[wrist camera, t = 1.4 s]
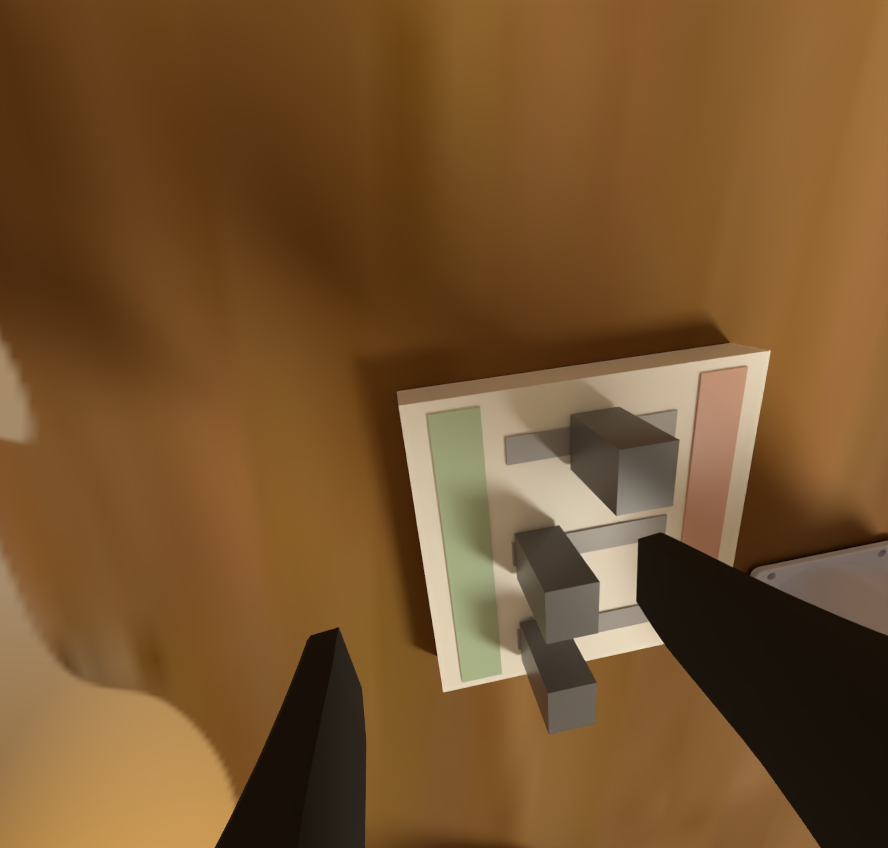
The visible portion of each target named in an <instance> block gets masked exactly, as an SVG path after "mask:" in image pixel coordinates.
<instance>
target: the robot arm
mask: <svg viewBox="0 0 888 848" xmlns="http://www.w3.org/2000/svg"><path fill="white" fill-rule="evenodd" d="M636 602H637V604H638V605H639V607H640V608H641V610H642V611H643V613H644V615H645V616H646V618H647V619H648V621H649V622H650V624H651V625H652V627H653V628H654V630H655V631H656V633H657V634H658V636H659V637H660V639H661V640H662V642H663V643H664V644H665V646H666V647H667V648H668V649H669V651H670V652H671V653H672V654H673V656H674V657H675V658H676V659H677V660H678V662H679V663H680V664H681V665H682V667H683V668H684V669H685V670H686V671H687V673H688V674H689V675H690V676H691V678H692V679H693V680H694V681H695V682H696V684H697V685H698V686H699V687H700V688H701V690H702V691H703V692H704V693H705V694H706V696H707V697H708V698H709V699H710V700H711V702H712V703H713V704H714V705H715V706H716V708H717V709H718V710H719V711H720V712H721V714H722V715H723V716H724V717H725V719H726V720H727V721H728V722H729V723H730V725H731V726H732V727H733V728H734V729H735V731H736V732H737V733H738V734H739V735H740V737H741V738H742V739H743V740H744V742H745V743H746V744H747V745H748V747H749V748H750V749H751V751H752V752H753V753H754V754H755V756H756V757H757V758H758V760H759V761H760V762H761V763H762V765H763V766H764V767H765V769H766V770H767V772H768V773H769V774H770V776H771V777H772V779H773V780H774V781H775V783H776V784H777V786H778V787H779V789H780V790H781V791H782V793H783V794H784V796H785V797H786V798H787V800H788V801H789V803H790V804H791V805H792V807H793V808H794V810H795V811H796V812H797V814H798V815H799V817H800V818H801V819H802V821H803V822H804V824H805V825H806V827H807V828H808V830H809V831H810V833H811V834H812V836H813V837H814V838H815V840H816V841H817V843H818V844H819V846H820V847H821V848H888V541H883V542H878V543H873V544H868V545H864V546H859V547H854V548H849V549H844V550H839V551H834V552H829V553H824V554H819V555H815V556H810V557H805V558H800V559H795V560H790V561H785V562H780V563H775V564H771V565H766V566H761V567H757V568H755V569H754V570H753V571H752V572H751V574H750V575H748V574H746V573H744V572H742V571H740V570H738V569H735V568H733V567H731V566H729V565H727V564H725V563H723V562H721V561H719V560H717V559H715V558H713V557H711V556H709V555H707V554H705V553H703V552H701V551H699V550H697V549H695V548H693V547H691V546H689V545H687V544H685V543H683V542H681V541H679V540H677V539H675V538H673V537H671V536H668V535H666V534H664V533H662V532H659V533H656V534H653V535H649V536H646V537H642V538H639V539H638V556H637V587H636ZM365 800H366V733H365V719H364V707H363V696H362V687H361V685H360V682H359V679H358V677H357V674H356V672H355V669H354V666H353V664H352V661H351V658H350V656H349V653H348V650H347V648H346V645H345V643H344V640H343V637H342V635H341V632H340V629H339V627H338V628H335V629H331V630H328V631H325V632H321V633H318V634H314V635H311V636H310V637H309V639H308V640H307V642H306V645H305V648H304V650H303V653H302V656H301V659H300V661H299V664H298V666H297V669H296V672H295V674H294V677H293V679H292V682H291V684H290V687H289V689H288V692H287V694H286V697H285V699H284V702H283V704H282V706H281V709H280V711H279V713H278V716H277V718H276V720H275V723H274V725H273V727H272V729H271V732H270V734H269V736H268V739H267V741H266V743H265V745H264V748H263V750H262V752H261V754H260V757H259V759H258V761H257V763H256V765H255V767H254V770H253V772H252V774H251V776H250V778H249V780H248V782H247V784H246V786H245V788H244V790H243V792H242V794H241V796H240V798H239V801H238V803H237V805H236V807H235V809H234V811H233V813H232V815H231V817H230V819H229V821H228V823H227V825H226V827H225V829H224V831H223V833H222V835H221V837H220V839H219V841H218V843H217V844H216V846H215V848H365Z"/></svg>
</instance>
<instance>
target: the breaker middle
mask: <svg viewBox="0 0 888 848" xmlns="http://www.w3.org/2000/svg"><path fill="white" fill-rule="evenodd" d="M514 537H515V554H516V571H517V580H518V582H519V584H520V586H521V589H522V591H523V593H524V595H525V598H526V600H527V602H528V604H529V606H530V609H531V611H532V613H533V615H534V618H535V620H536V622H537V624H538V626H539V629H540V631H541V633H542V635H543V638H544V640H545V642H546V644H550V643H554V642H559V641H564V640H568V639H573V638H578V637H582V636H587V635H592V634H597V633H598V625H599V594H600V581H599V580H598V578H597V577H596V576H595V574H594V573H593V571H592V570H591V569H590V567H589V566H588V564H587V563H586V562H585V560H584V559H583V557H582V556H581V555H580V553H579V552H578V550H577V549H576V548H575V546H574V545H573V543H572V542H571V541H570V539H569V538H568V537H567V535H566V534H565V532H564V531H563V530H562V528H561V527H560V525H557V526H552V527H546V528H541V529H536V530H530V531H525V532H519V533H514Z"/></svg>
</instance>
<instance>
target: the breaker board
mask: <svg viewBox="0 0 888 848" xmlns="http://www.w3.org/2000/svg"><path fill="white" fill-rule="evenodd" d="M770 351H771V350H766V349H760V348H755V347H750V346H745V345H740V344H735V343H726V344H719V345H712V346H706V347H699V348H692V349H685V350H678V351H671V352H664V353H657V354H650V355H644V356H637V357H630V358H623V359H616V360H609V361H602V362H595V363H588V364H582V365H575V366H568V367H561V368H554V369H547V370H540V371H533V372H526V373H519V374H513V375H506V376H499V377H492V378H485V379H478V380H471V381H464V382H457V383H451V384H444V385H437V386H430V387H423V388H416V389H409V390H402V391H397V399H398V406H399V412H400V419H401V425H402V431H403V438H404V444H405V451H406V457H407V463H408V470H409V476H410V482H411V489H412V495H413V502H414V508H415V514H416V521H417V527H418V534H419V540H420V546H421V553H422V559H423V565H424V572H425V578H426V585H427V591H428V597H429V604H430V610H431V617H432V623H433V629H434V636H435V642H436V648H437V655H438V661H439V668H440V674H441V680H442V687H443V692H447V691H451V690H456V689H460V688H465V687H470V686H474V685H479V684H483V683H488V682H492V681H497V680H501V679H506V678H511V677H515V676H520V675H524V674H527V673H526V671H525V668H524V665H523V662H522V658H521V641H520V622H525V621H530V620H535V618H534V615H533V613H532V611H531V609H530V606H529V604H528V602H527V600H526V598H525V595H524V593H523V591H522V589H521V586H520V584H519V582H518V580H517V571H516V554H515V537H514V533H519V532H525V531H530V530H536V529H541V528H546V527H552V526H557V525H560V527H561V528H562V530H563V531H564V532H565V534H566V535H567V537H568V538H569V539H570V541H571V542H572V543H573V545H574V546H575V548H576V549H577V550H578V552H579V553H580V555H581V556H582V557H583V559H584V560H585V562H586V563H587V564H588V566H589V567H590V569H591V570H592V571H593V573H594V574H595V576H596V577H597V578H598V580H599V581H600V594H599V625H598V633H597V634H592V635H587V636H582V637H578V638H573V639H574V641H575V643H576V645H577V647H578V648H579V650H580V652H581V654H582V656H583V658H584V660H585V661H588V660H593V659H597V658H602V657H607V656H611V655H616V654H620V653H625V652H629V651H634V650H639V649H643V648H648V647H652V646H657V645H661V644H664V643H663V642H662V640H661V639H660V637H659V636H658V634H657V633H656V631H655V630H654V628H653V627H652V625H651V624H650V622H649V621H648V619H647V618H646V616H645V615H644V613H643V611H642V610H641V608H640V607H639V605H638V604H637V602H636V587H637V556H638V539H639V538H642V537H646V536H649V535H653V534H656V533H659V532H662V533H664V534H666V535H668V536H671V537H673V538H675V539H677V540H679V541H681V542H683V543H685V544H687V545H689V546H691V547H693V548H695V549H697V550H699V551H701V552H703V553H705V554H707V555H709V556H711V557H713V558H715V559H717V560H719V561H721V562H723V563H725V564H727V565H729V566H731V567H733V564H734V558H735V552H736V547H737V541H738V535H739V529H740V524H741V518H742V512H743V506H744V501H745V495H746V489H747V483H748V478H749V472H750V466H751V460H752V455H753V449H754V443H755V438H756V432H757V426H758V420H759V415H760V409H761V403H762V397H763V392H764V386H765V380H766V374H767V369H768V363H769V357H770ZM613 407H621V408H623V409H624V410H626V411H628V412H630V413H632V414H634V415H635V416H637V417H639V418H641V419H643V420H644V421H646V422H648V423H650V424H652V425H654V426H655V427H657V428H659V429H661V430H663V431H664V432H666V433H668V434H670V435H672V436H673V437H675V438H677V439H679V440H680V442H679V451H678V461H677V471H676V480H675V490H674V500H673V506H669V507H664V508H658V509H653V510H647V511H642V512H636V513H631V514H626V515H620V516H616V515H615V514H614V513H613V512H612V511H611V510H610V509H609V508H608V507H607V506H606V505H605V504H604V503H603V502H602V501H601V500H600V499H599V498H598V497H597V496H596V495H595V494H594V493H593V492H592V491H591V490H590V489H589V488H588V487H587V486H586V485H585V484H584V483H583V482H582V481H581V480H580V479H579V478H578V477H577V475H576V474H575V473H574V472H573V471H572V470H571V469H570V456H571V414H575V413H581V412H588V411H594V410H601V409H607V408H613Z"/></svg>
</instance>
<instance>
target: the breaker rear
mask: <svg viewBox="0 0 888 848" xmlns="http://www.w3.org/2000/svg"><path fill="white" fill-rule="evenodd" d="M520 641H521V658H522V662H523V665H524V668H525V671H526V673H527V676H528V679H529V681H530V684H531V687H532V690H533V692H534V695H535V698H536V701H537V703H538V706H539V709H540V711H541V714H542V717H543V720H544V722H545V725H546V728H547V731H548V733H549V734H553V733H558V732H562V731H566V730H570V729H575V728H579V727H583V726H587V725H592V724H595V718H596V687H597V682H596V681H595V679H594V677H593V675H592V673H591V671H590V669H589V667H588V665H587V664H586V662H585V660H584V658H583V656H582V654H581V652H580V650H579V648H578V647H577V645H576V643H575V641H574V639H568V640H564V641H559V642H554V643H550V644H546V642H545V640H544V638H543V635H542V633H541V631H540V629H539V626H538V624H537V622H536V620H530V621H525V622H520Z"/></svg>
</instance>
